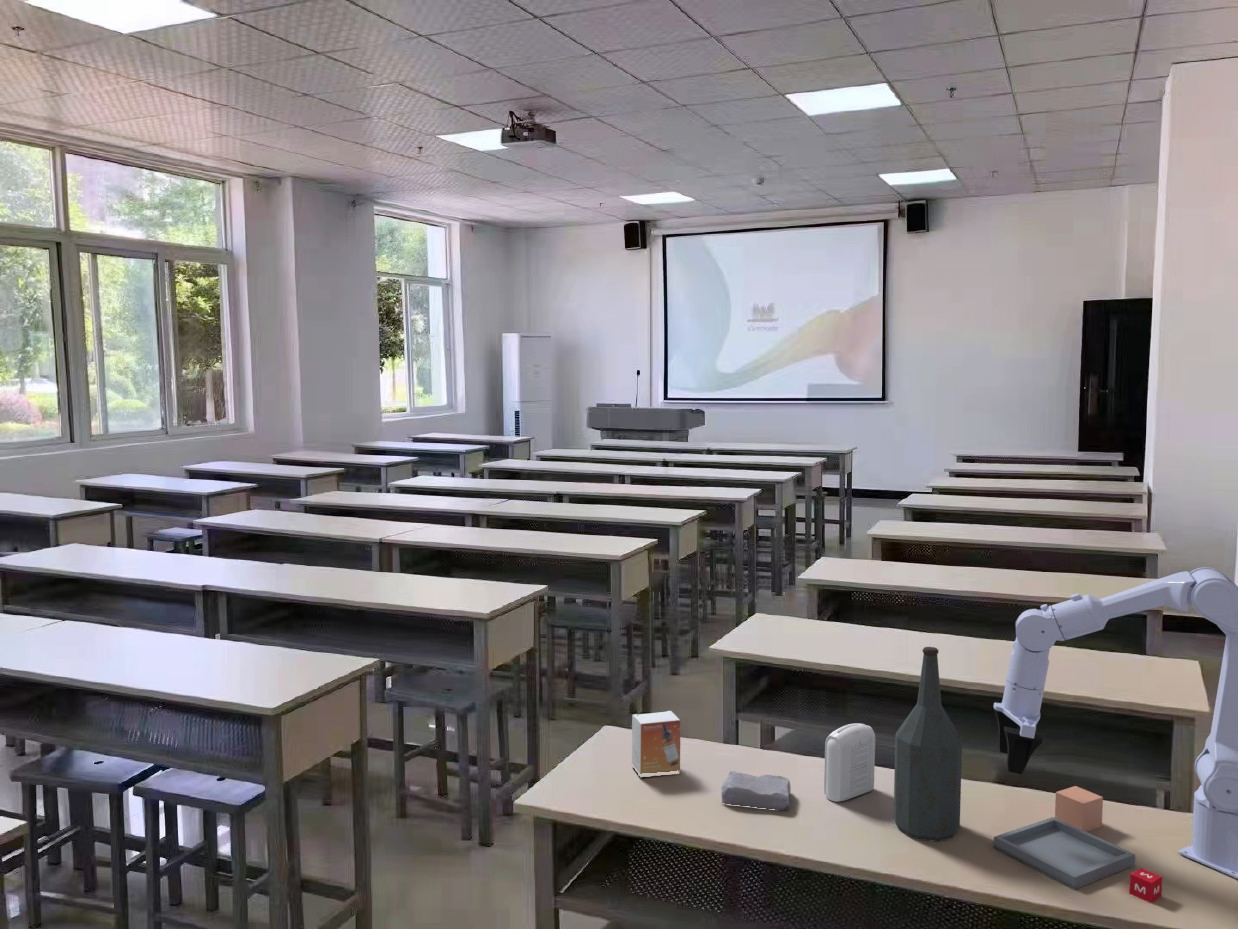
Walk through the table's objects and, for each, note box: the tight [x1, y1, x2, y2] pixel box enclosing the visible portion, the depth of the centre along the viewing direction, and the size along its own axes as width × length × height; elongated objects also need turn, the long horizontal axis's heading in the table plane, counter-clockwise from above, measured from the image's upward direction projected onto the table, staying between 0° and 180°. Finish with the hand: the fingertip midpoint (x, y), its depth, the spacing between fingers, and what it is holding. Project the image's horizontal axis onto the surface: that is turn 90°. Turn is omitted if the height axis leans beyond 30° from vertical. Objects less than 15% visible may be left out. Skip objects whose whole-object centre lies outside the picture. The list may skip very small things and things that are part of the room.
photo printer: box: [823, 722, 876, 803], centre depth 167 cm, size 10×4×12 cm, turn 126°
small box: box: [631, 710, 681, 774], centre depth 177 cm, size 8×6×10 cm
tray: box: [993, 816, 1136, 890], centre depth 145 cm, size 14×14×2 cm
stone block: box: [720, 770, 792, 811], centre depth 166 cm, size 12×5×10 cm
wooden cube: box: [1054, 785, 1104, 832], centre depth 156 cm, size 5×5×5 cm
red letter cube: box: [1128, 867, 1163, 904], centre depth 134 cm, size 3×3×3 cm
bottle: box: [893, 646, 963, 842], centre depth 153 cm, size 10×10×30 cm
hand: (1010, 762), depth 155 cm, fingers open, 7 cm apart
